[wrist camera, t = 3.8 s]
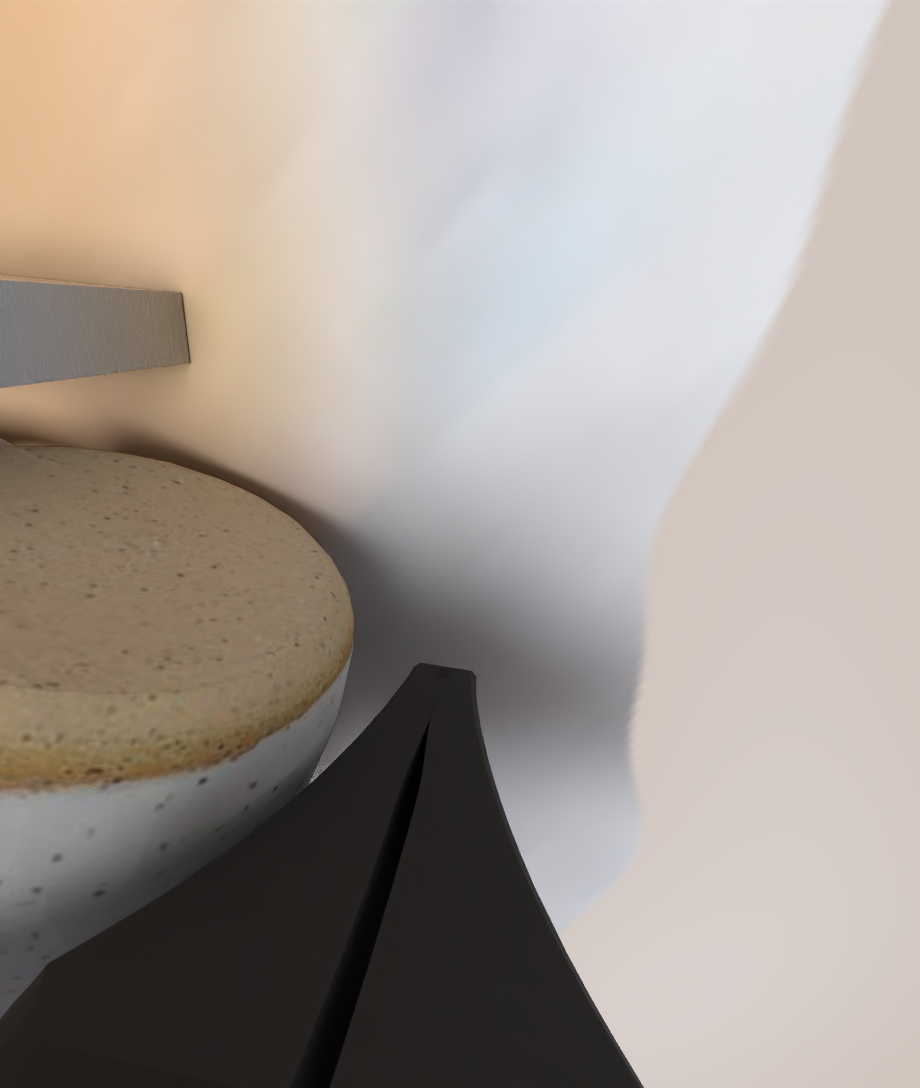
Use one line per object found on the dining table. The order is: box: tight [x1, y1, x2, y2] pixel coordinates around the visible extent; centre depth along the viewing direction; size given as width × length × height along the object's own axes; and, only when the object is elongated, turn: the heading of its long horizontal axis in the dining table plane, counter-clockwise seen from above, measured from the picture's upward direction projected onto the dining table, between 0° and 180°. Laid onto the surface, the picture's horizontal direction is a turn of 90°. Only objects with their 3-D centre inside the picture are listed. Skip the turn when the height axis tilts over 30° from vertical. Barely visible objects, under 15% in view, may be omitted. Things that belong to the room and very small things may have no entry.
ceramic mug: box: [0, 439, 354, 1018], centre depth 9 cm, size 11×8×8 cm
